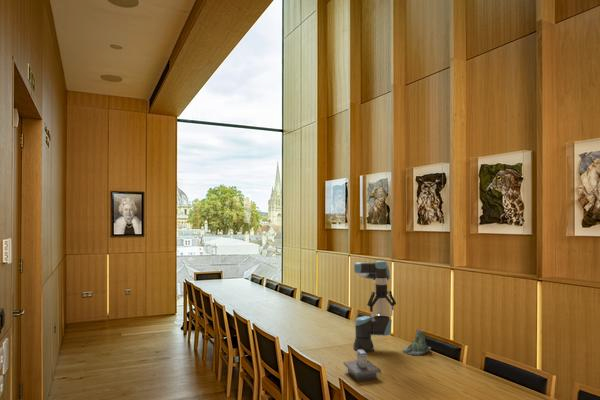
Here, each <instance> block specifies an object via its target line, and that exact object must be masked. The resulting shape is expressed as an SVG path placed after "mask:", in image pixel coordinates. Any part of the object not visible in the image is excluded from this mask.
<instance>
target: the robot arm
mask: <svg viewBox="0 0 600 400" xmlns="http://www.w3.org/2000/svg"><path fill="white" fill-rule="evenodd" d="M353 264H354V265H353V266H354V271H353V272H354V273H355V274H358V275H359V276H360V278H361V277H362V278H364V279H368V280H369V279H370V280H371V279H372V280H373V281H372V282H374V287H375V289H374V290H375V291H371V295H370V297H369V299H368V302H367V306H368V307H369V311H370V313H371V314H370V315H371V316H370V315H364V316H359V317H357V318H356V319H355V323H354V326H355V339H354V342H353V346H352V347H353V350H355V351H357V350H364V351H365V352H366V353H367V352H371V351H373V350H374V349H375V347H374V343H373V339H372V336H383V337H385V336H390V335H391V331H392V319H391V318H390V317H393V315H394V314H393V311H394V306H395V305H397V302H396V300H395V298H394V296H393V293H392V291H391V290H388V283H389V280H390V279H391V274H390V268H389V265H388V263H387V261H386V260H376V261H375V262H365V261H364V262H355V263H353ZM388 296H389V297H388ZM388 303H389V304H390V305H389V307H388ZM374 306H375V307H374ZM388 308H389V315H388Z"/></svg>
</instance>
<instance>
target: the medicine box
mask: <svg viewBox="0 0 600 400" xmlns="http://www.w3.org/2000/svg"><path fill="white" fill-rule="evenodd" d="M367 360H368V353H367V352H365V351H364V350H356V361H357V364H358V365H359V367H360V368H367Z"/></svg>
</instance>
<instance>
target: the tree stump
mask: <svg viewBox="0 0 600 400" xmlns="http://www.w3.org/2000/svg"><path fill="white" fill-rule="evenodd" d="M415 333H416V334H415V337H414V340H413V341H412V342H411V343H410V344H408V345H407V346H405V348H404V349H402V352H403V353H404V354H406V355H409V356H424V355H426V354H427V353H428V352H430V351H431V349H432V347H431V346H429V345H427V342H426V332H425V331H423V330H421V329H416V332H415Z"/></svg>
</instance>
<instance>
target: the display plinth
mask: <svg viewBox="0 0 600 400" xmlns="http://www.w3.org/2000/svg"><path fill="white" fill-rule="evenodd" d="M343 365H344V366H345V367H346V368H347V373H348V374H349V375H350V377H351V376H352V378H354V379H355V380H356V382H363V381H372V380H377V374H378V373H379V374H381V372H382V369H380V368H379V367H378V366H376V365H375V364H373V362H371V361H370V360H368V359H367V368H360V367H359V365H358V364H357V360H349V361H343Z"/></svg>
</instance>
